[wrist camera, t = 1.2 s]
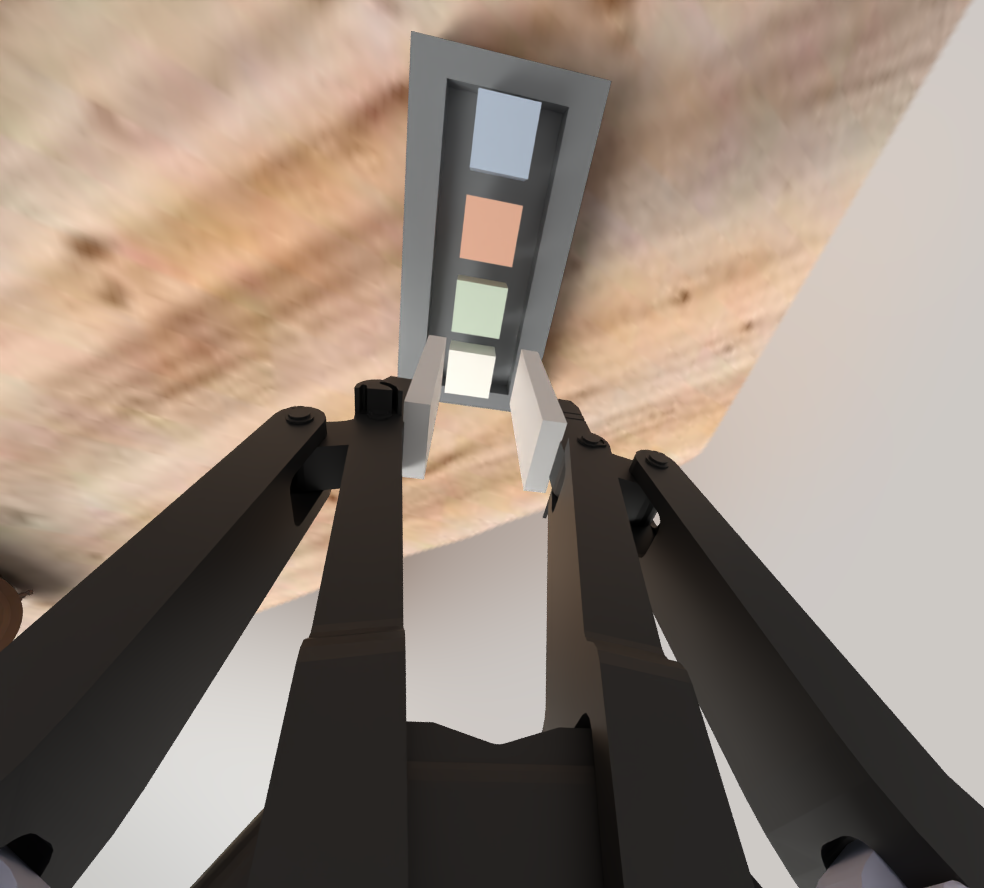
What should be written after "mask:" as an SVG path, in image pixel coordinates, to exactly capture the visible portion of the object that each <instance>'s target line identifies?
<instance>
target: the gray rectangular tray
mask: <svg viewBox="0 0 984 888" xmlns="http://www.w3.org/2000/svg"><path fill="white" fill-rule="evenodd" d="M610 85H611V81H610V80H606V79H602V78H598V77H594V76H590V75H586V74H582V73H578V72H574V71H570V70H566V69H562V68H558V67H554V66H550V65H546V64H542V63H538V62H534V61H530V60H526V59H522V58H518V57H514V56H510V55H506V54H502V53H498V52H494V51H490V50H486V49H482V48H478V47H474V46H470V45H466V44H462V43H458V42H454V41H450V40H446V39H442V38H438V37H434V36H430V35H426V34H422V33H418V32H414V31H411V47H410V72H409V98H408V123H407V149H406V175H405V200H404V226H403V251H402V277H401V303H400V328H399V354H398V377H400V378H407V379H413V376H414V374H415V371H416V368H417V366H418V363H419V360H420V358H421V355H422V352H423V350H424V347H425V344H426V342H427V339H428V336H429V335H434V336H440V337H446V347H445V357H444V366H443V376H442V385H441V394H440V399H439V402H443V403H451V404H458V405H465V406H473V407H480V408H487V409H494V410H502V411H509V412H511V409H510V400H511V395H512V391H513V386H514V381H515V377H516V372H517V367H518V363H519V358H520V353H521V349H523V350H529V351H535V352H538V353H539V356H540V358H541V361H542V358H543V354H544V350H545V346H546V342H547V338H548V334H549V330H550V326H551V322H552V318H553V314H554V310H555V306H556V302H557V298H558V294H559V290H560V286H561V282H562V278H563V274H564V270H565V266H566V262H567V258H568V254H569V250H570V246H571V242H572V237H573V233H574V229H575V225H576V221H577V217H578V213H579V209H580V205H581V201H582V197H583V193H584V189H585V185H586V181H587V177H588V173H589V169H590V165H591V161H592V157H593V153H594V149H595V145H596V141H597V137H598V133H599V129H600V125H601V121H602V117H603V113H604V109H605V105H606V101H607V97H608V93H609V89H610ZM479 88H482V89H486V90H491V91H495V92H499V93H503V94H508V95H512V96H516V97H520V98H524V99H529V100H533V101H537V102H541V103H542V104H541V109H540V115H539V120H538V126H537V131H536V137H535V143H534V148H533V154H532V159H531V165H530V170H529V176H528V179H527V180H526V181H520V180H515V179H510V178H505V177H501V176H496V175H491V174H486V173H482V172H477V171H472V170H470V160H471V151H472V142H473V133H474V124H475V115H476V106H477V97H478V89H479ZM467 195H472V196H477V197H482V198H487V199H492V200H497V201H501V202H506V203H511V204H516V205H521V206H523V209H522V215H521V220H520V226H519V231H518V237H517V242H516V248H515V253H514V259H513V264H512V267H508V266H502V265H497V264H491V263H486V262H480V261H475V260H469V259H464V258H460V250H461V241H462V232H463V223H464V214H465V205H466V196H467ZM458 275H464V276H470V277H476V278H481V279H487V280H493V281H498V282H504V283H506V284H507V287H508V292H507V298H506V303H505V309H504V314H503V320H502V325H501V331H500V337H499V339H496V338H489V337H483V336H477V335H471V334H464V333H458V332H452V331H451V330H452V321H453V312H454V303H455V294H456V285H457V278H458ZM451 340H453V341H460V342H466V343H473V344H479V345H485V346H492V347H495V354H496V359H495V364H494V370H493V375H492V381H491V386H490V392H489V398H488V399H487V398H480V397H473V396H466V395H458V394H451V393H445V384H446V375H447V366H448V357H449V349H450V344H451Z"/></svg>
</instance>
